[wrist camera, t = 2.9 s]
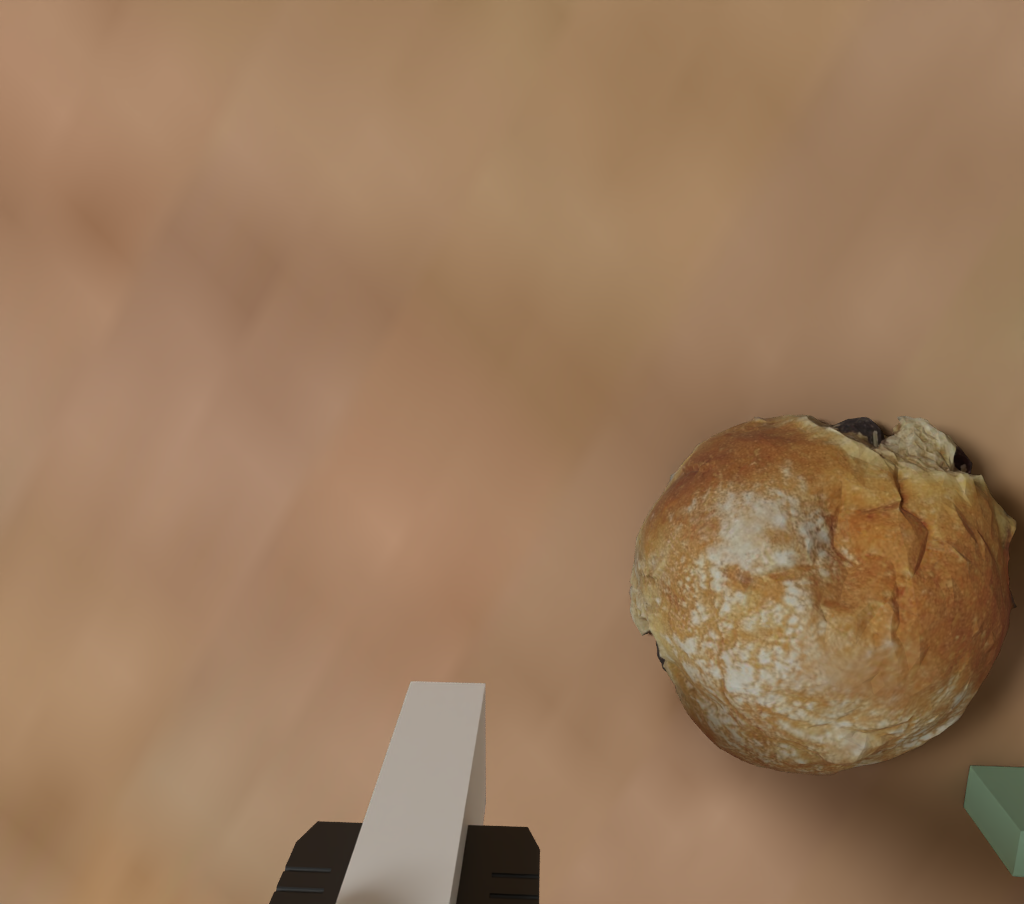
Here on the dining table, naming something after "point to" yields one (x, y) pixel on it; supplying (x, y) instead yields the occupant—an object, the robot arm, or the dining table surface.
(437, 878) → the robot arm
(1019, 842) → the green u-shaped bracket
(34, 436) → the dining table surface
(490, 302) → the dining table surface
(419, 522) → the dining table surface
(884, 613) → the bread roll
